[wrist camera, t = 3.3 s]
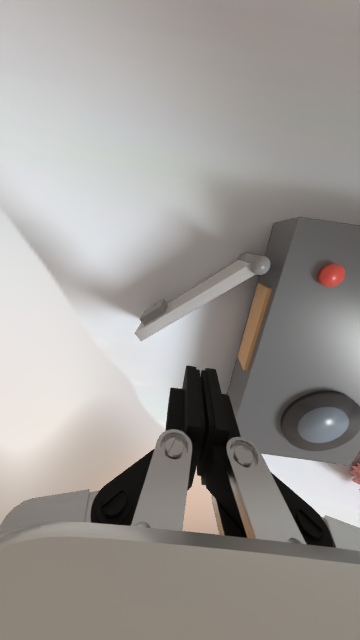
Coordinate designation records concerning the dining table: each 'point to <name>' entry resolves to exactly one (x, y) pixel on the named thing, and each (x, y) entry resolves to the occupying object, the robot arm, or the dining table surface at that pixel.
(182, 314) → the port door
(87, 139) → the dining table surface
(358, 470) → the flower
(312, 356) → the camera body
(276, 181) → the dining table surface
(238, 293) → the dining table surface
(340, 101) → the dining table surface
